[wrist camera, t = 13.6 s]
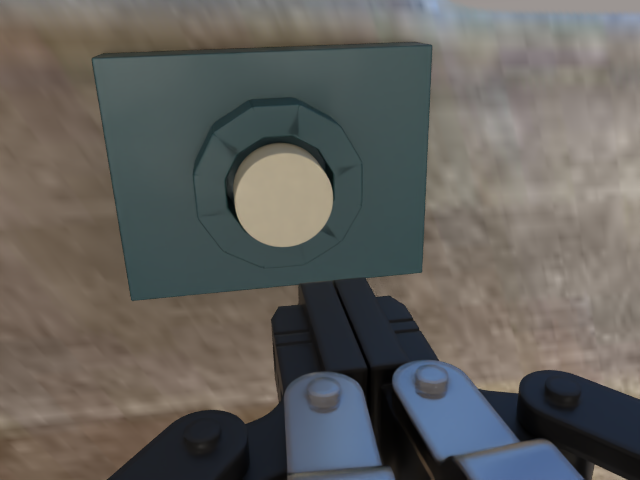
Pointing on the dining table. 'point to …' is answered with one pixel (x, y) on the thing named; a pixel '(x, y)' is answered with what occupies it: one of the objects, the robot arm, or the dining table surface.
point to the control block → (248, 135)
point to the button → (282, 195)
